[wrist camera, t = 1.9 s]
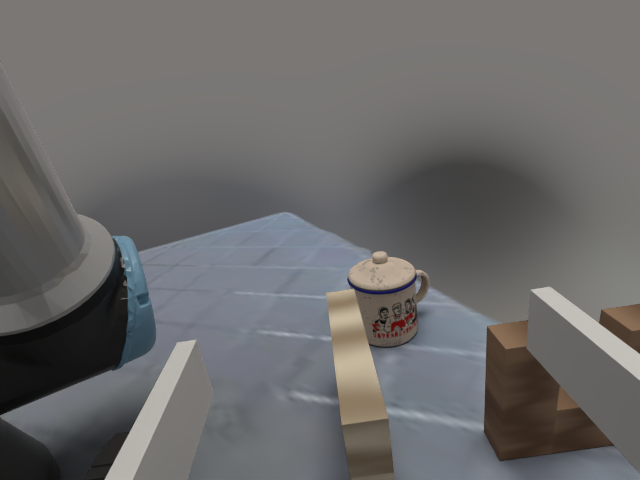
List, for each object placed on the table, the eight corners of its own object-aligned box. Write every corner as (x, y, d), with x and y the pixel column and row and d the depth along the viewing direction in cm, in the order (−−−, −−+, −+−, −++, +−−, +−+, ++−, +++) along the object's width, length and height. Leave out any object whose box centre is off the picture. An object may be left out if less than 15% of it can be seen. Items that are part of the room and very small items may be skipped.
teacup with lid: (375, 358, 46) (366, 277, 42) (343, 323, 54) (333, 252, 50) (450, 326, 50) (449, 248, 46) (410, 298, 58) (406, 230, 54)
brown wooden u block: (499, 460, 32) (505, 349, 27) (484, 431, 34) (487, 326, 30) (660, 438, 31) (691, 322, 27) (631, 410, 34) (655, 301, 30)
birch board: (400, 536, 27) (388, 418, 23) (360, 541, 28) (341, 424, 23) (364, 376, 43) (354, 289, 39) (340, 380, 43) (326, 293, 39)
